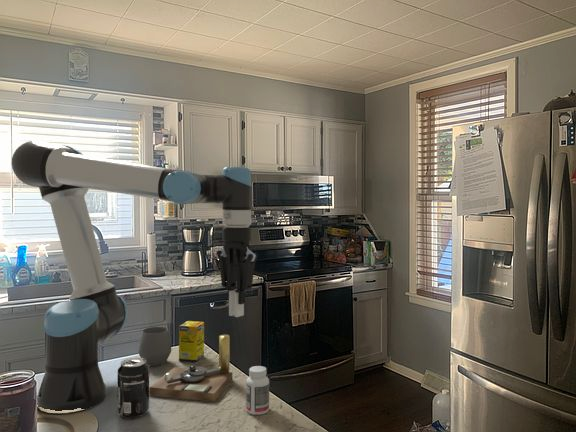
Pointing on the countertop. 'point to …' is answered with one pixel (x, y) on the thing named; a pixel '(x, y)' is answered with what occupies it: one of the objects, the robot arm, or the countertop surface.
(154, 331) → the cup
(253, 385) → the pill bottle
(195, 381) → the crank handle
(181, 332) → the supplement box
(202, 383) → the stand
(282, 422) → the countertop surface
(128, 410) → the beverage can
